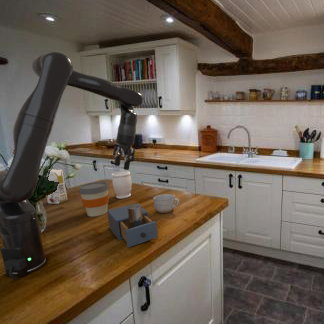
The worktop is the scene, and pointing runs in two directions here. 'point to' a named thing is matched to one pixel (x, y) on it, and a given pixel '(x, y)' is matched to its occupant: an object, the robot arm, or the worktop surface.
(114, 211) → the cabinet
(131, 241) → the drawer
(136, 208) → the brushed steel cylinder
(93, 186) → the reusable coffee cup
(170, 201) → the teacup
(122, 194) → the jar
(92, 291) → the worktop surface
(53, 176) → the juice carton
